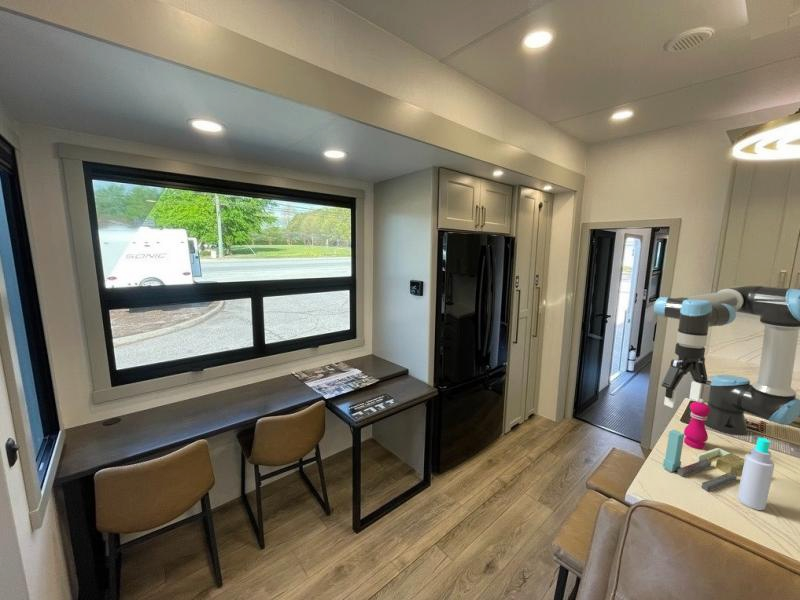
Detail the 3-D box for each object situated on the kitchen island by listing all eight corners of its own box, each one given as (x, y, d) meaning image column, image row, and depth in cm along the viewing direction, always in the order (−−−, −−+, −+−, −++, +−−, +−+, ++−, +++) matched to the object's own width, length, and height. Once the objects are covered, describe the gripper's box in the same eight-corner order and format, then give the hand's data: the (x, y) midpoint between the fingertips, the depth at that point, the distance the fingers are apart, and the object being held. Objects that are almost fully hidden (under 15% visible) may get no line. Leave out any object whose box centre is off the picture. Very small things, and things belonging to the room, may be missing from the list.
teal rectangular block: (662, 466, 119) (668, 431, 117) (670, 463, 120) (676, 429, 118) (671, 471, 116) (677, 436, 114) (680, 469, 118) (685, 433, 115)
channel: (705, 464, 121) (706, 459, 120) (736, 479, 113) (737, 474, 112) (677, 473, 116) (677, 468, 115) (707, 491, 107) (708, 486, 107)
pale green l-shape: (717, 453, 127) (718, 447, 127) (764, 476, 114) (766, 470, 114) (696, 460, 123) (697, 454, 122) (743, 485, 110) (744, 478, 110)
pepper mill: (710, 451, 128) (718, 404, 125) (689, 448, 130) (697, 402, 126) (698, 440, 135) (705, 395, 132) (678, 438, 137) (685, 394, 133)
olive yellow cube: (722, 465, 120) (724, 455, 120) (736, 472, 117) (738, 462, 116) (715, 467, 119) (717, 458, 118) (729, 475, 115) (731, 464, 115)
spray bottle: (771, 510, 100) (785, 445, 96) (753, 511, 99) (766, 446, 96) (748, 495, 106) (761, 433, 102) (731, 496, 105) (743, 434, 101)
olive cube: (729, 462, 122) (731, 453, 121) (743, 469, 118) (745, 459, 117) (722, 465, 120) (724, 455, 120) (736, 472, 117) (738, 462, 116)
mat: (673, 465, 120) (673, 464, 120) (679, 469, 118) (679, 468, 118) (664, 468, 118) (664, 468, 118) (670, 472, 116) (670, 471, 116)
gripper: (700, 338, 118) (692, 392, 122) (653, 345, 110) (646, 404, 113) (726, 344, 111) (717, 401, 115) (678, 352, 103) (669, 414, 106)
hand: (681, 402), depth 114 cm, fingers open, 13 cm apart
